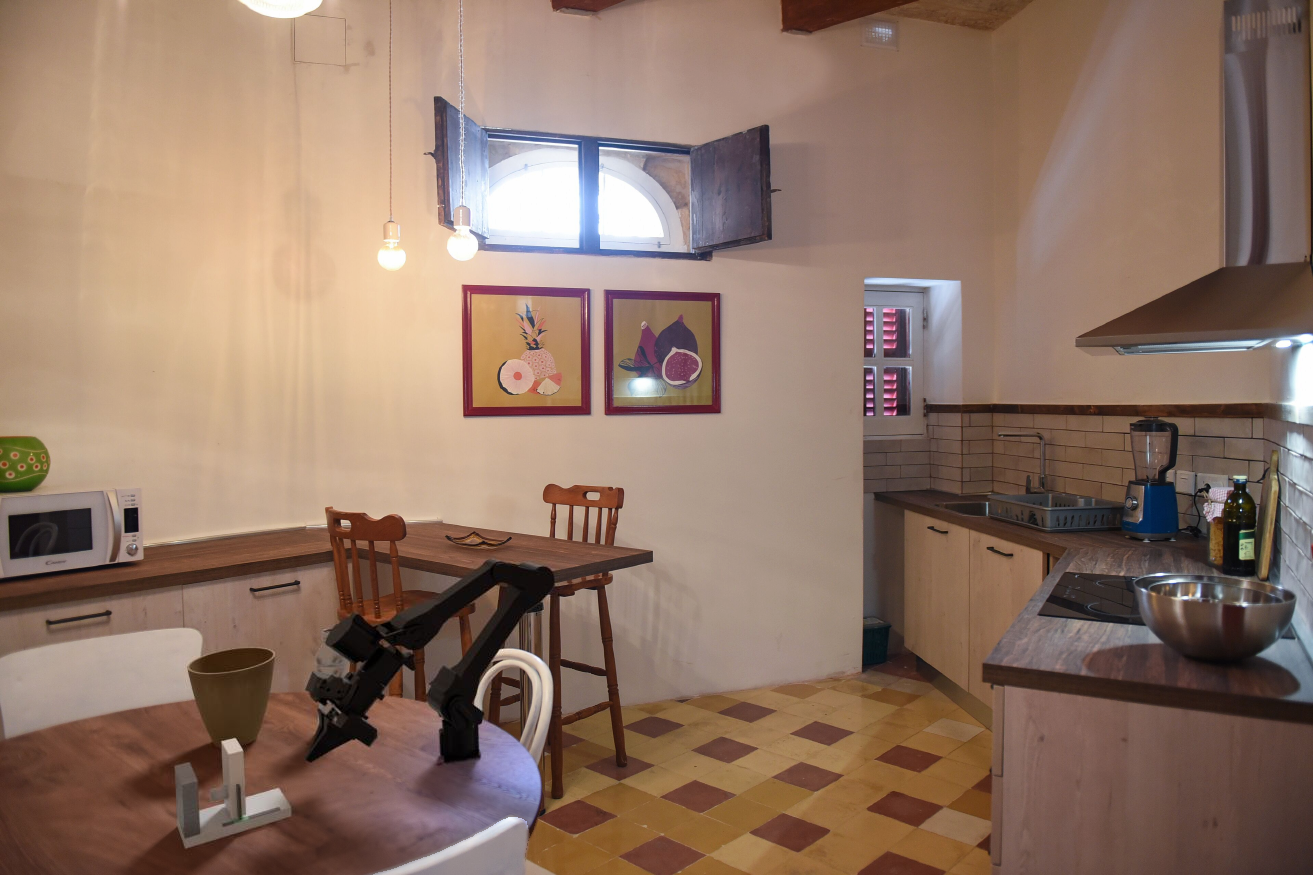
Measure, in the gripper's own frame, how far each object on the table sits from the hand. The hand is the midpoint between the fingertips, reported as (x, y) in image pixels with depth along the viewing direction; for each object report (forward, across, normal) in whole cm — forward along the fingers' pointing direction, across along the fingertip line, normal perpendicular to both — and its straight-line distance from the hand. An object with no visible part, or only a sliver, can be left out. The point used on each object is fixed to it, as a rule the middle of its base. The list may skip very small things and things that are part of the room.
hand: (307, 760), depth 133 cm
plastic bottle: (-3, -26, +13) cm, 29 cm away
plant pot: (+8, -33, +1) cm, 34 cm away
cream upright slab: (+12, +1, -5) cm, 13 cm away
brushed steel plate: (+15, 0, -9) cm, 18 cm away
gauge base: (+12, 0, -3) cm, 12 cm away
